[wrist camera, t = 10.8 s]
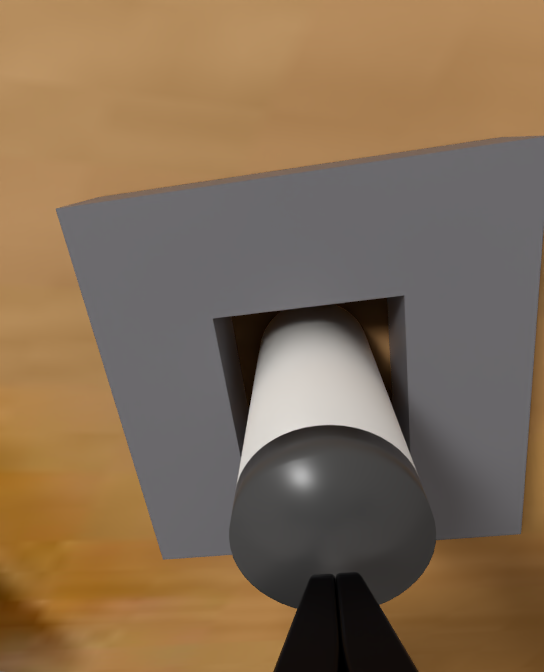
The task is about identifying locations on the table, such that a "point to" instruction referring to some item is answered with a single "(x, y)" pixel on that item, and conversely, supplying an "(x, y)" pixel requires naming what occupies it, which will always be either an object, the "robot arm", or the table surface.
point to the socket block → (314, 290)
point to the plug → (325, 466)
